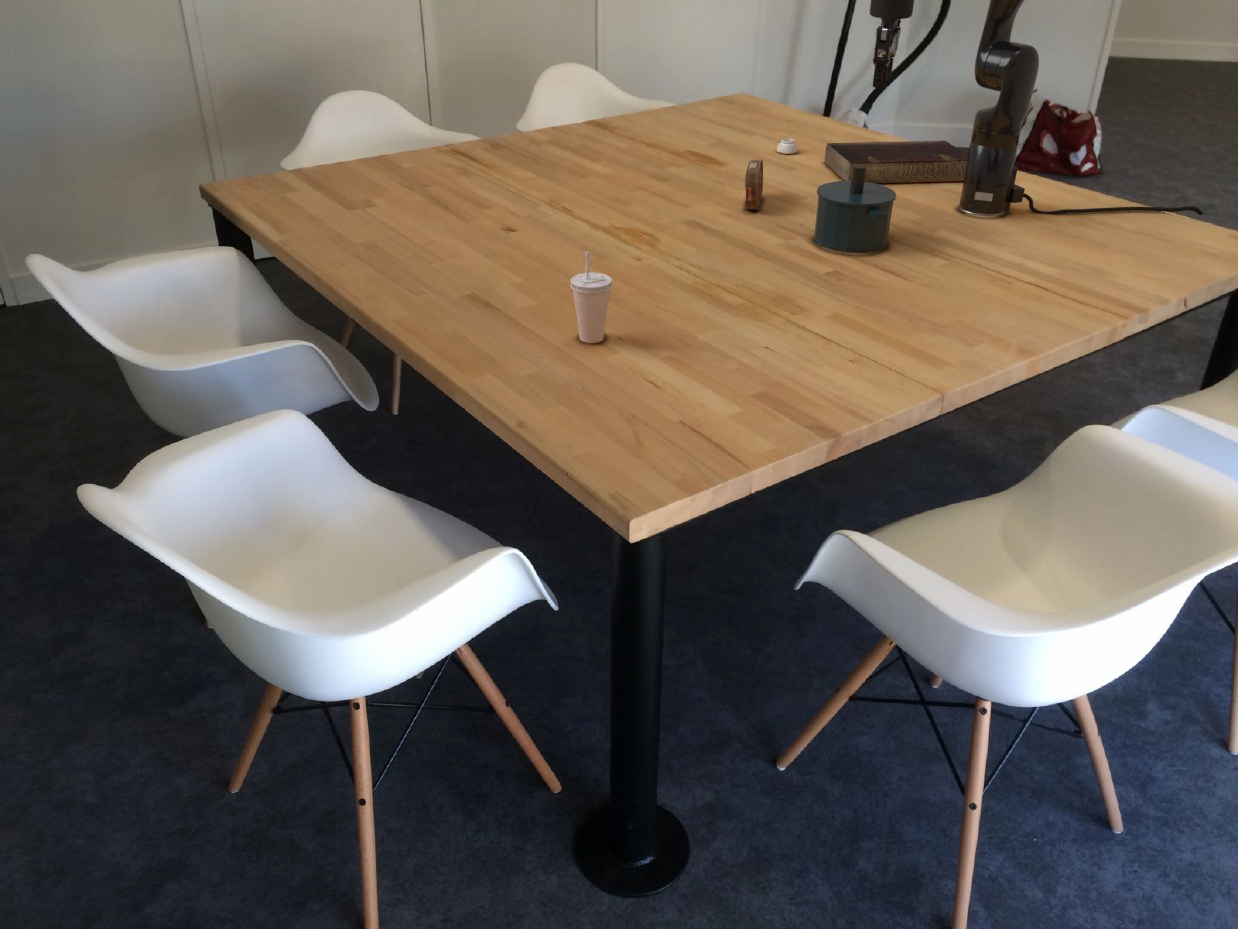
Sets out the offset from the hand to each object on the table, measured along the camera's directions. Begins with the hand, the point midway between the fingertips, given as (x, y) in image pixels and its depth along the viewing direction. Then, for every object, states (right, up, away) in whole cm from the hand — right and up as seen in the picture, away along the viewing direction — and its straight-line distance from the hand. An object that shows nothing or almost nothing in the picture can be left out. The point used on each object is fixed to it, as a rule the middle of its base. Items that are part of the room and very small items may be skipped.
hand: (881, 83), depth 196 cm
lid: (-4, -20, +3) cm, 20 cm away
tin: (-20, -15, +29) cm, 38 cm away
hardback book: (+16, -3, +51) cm, 53 cm away
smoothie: (-53, -51, -30) cm, 79 cm away
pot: (-4, -28, +8) cm, 29 cm away
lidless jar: (-7, +6, +65) cm, 65 cm away
